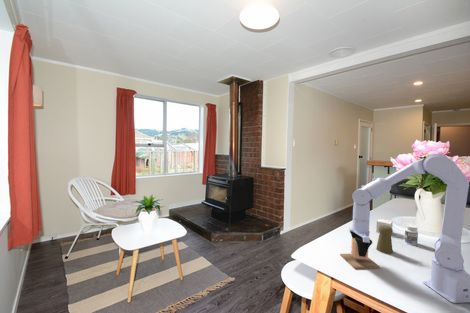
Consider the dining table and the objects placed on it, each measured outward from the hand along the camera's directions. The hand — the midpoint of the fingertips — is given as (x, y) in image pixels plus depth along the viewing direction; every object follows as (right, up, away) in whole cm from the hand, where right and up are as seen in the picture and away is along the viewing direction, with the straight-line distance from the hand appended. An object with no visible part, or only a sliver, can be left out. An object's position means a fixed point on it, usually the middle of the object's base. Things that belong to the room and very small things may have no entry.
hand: (359, 252), depth 86 cm
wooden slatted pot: (0, -1, 0) cm, 1 cm away
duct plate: (0, -4, 0) cm, 4 cm away
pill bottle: (+34, -3, +16) cm, 38 cm away
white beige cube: (+30, -3, +29) cm, 42 cm away
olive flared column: (+16, -4, +9) cm, 19 cm away
